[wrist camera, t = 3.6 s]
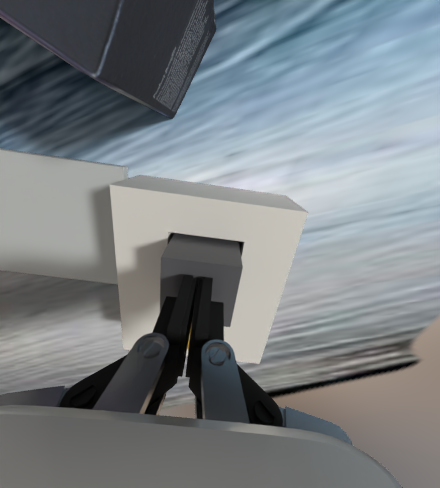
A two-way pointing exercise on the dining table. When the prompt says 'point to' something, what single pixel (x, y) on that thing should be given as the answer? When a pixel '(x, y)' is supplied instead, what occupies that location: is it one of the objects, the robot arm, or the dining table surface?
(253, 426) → the robot arm
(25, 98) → the dining table surface
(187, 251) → the button
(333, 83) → the dining table surface
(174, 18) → the small box
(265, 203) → the switch panel
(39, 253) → the lockout pad
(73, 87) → the dining table surface
